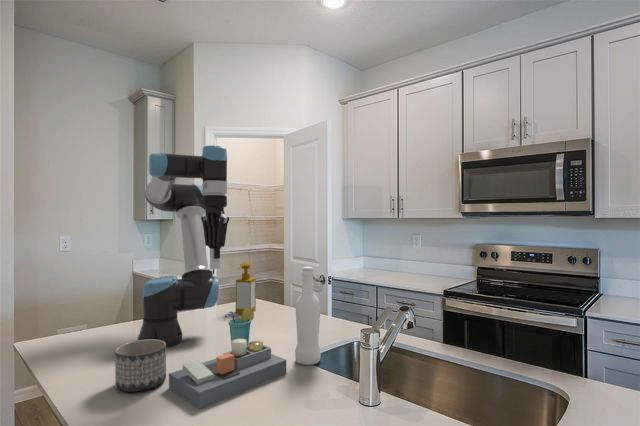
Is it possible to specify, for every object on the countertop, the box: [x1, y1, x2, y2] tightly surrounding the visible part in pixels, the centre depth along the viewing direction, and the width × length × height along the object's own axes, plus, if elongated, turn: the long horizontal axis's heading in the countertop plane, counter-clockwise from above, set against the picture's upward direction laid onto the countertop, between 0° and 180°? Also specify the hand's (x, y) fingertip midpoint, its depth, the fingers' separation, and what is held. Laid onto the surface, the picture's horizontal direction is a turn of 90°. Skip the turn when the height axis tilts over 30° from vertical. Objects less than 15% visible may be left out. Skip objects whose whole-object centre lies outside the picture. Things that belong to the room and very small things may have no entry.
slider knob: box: [215, 353, 234, 375], centre depth 104 cm, size 2×4×4 cm, turn 137°
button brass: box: [248, 340, 264, 353], centre depth 115 cm, size 4×4×4 cm
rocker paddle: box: [181, 359, 214, 384], centre depth 101 cm, size 8×4×1 cm, turn 47°
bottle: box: [294, 266, 322, 366], centre depth 122 cm, size 8×8×30 cm
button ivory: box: [231, 339, 247, 356], centre depth 110 cm, size 4×4×4 cm
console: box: [168, 344, 287, 410], centre depth 108 cm, size 16×28×7 cm, turn 137°
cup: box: [224, 308, 255, 348], centre depth 129 cm, size 14×8×15 cm, turn 156°
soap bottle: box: [235, 261, 257, 315], centre depth 179 cm, size 7×13×24 cm, turn 170°
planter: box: [114, 339, 167, 392], centre depth 106 cm, size 13×13×10 cm
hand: (214, 268), depth 123 cm, fingers closed
